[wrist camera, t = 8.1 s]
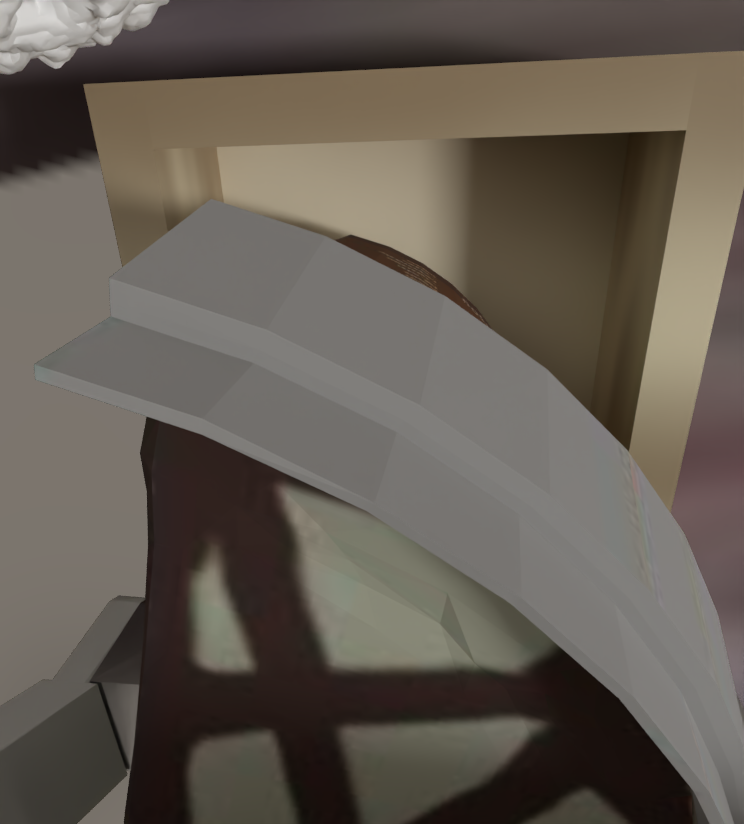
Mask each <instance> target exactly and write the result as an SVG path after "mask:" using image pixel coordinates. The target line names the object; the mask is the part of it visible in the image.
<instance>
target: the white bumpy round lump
mask: <svg viewBox="0 0 744 824" xmlns="http://www.w3.org/2000/svg"><path fill="white" fill-rule="evenodd" d="M168 2H169V0H0V73H1V74H8V75H9V74H14V73H16V72H19V71H22V70H23V69H24V68H25V66H26V65H27V64H28V62H29V61H30V59H35V58H39V59H40V60H41V61H42V62H44V63H45V64H47V65H48V66H50V67H52V68H55V69H57V68H61V67H62V65H63V64H64V63H65V62H67V61H69V60H70V58H71V57H73V56H74V55H73V54H74V53H75V52H76V50H77V49H78V48H83V47H93V46H95V45H96V43H97V44H100V45H103V46H105V45H110V44H111V43H112V41H113V39H114V38H115V37H116V36H117V35H119V34H120V31H121V29H122V28H123V30H124V29H125V30H129V31H137V30H139V29H141V28H145V27H146V26H147V25H149V24H150V23H151V21H152V18H153V17H154V15H155V14H156V12H157V10H158V7H159V6H162V5H166V4H168Z"/></svg>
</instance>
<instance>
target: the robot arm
mask: <svg viewBox="0 0 744 824" xmlns="http://www.w3.org/2000/svg"><path fill="white" fill-rule="evenodd" d="M144 613H145V598H141V597H129V596H117V597H116V598H114V599H112V600H111V601H110V602H109V603H108V604H107V605H106V607H105V608H104V610H103V611H102V612H101V614H100V615H99V616H98V618H97V619H96V620H95V622H94V623H93V625H92V626H91V627H90V629H89V630H88V631H87V633H86V634H85V636H84V637H83V638H82V640H81V641H80V642H79V644H78V645H77V647H76V648H75V649H74V651H73V652H72V653H71V655H70V656H69V658H68V659H67V660H66V662H65V663H64V665H63V666H62V667H61V669H60V670H59V671H58V673H57V674H56V676H55V677H54V678H53V680H41V681H40V682H38V683H36V684H35V685H33V686H32V687H30V688H29V689H27V690H25V691H24V692H22V693H21V694H19V695H17V696H16V697H14V698H12V699H11V700H9V701H8V702H6V703H4V704H3V705H1V706H0V824H77V823H78V822H79V821H80V820H81V819H82V818H83V817H84V816H85V815H86V814H87V813H88V812H90V810H91V809H92V808H94V807H95V806H96V805H97V804H98V803H99V802H100V801H101V800H102V799H103V798H104V797H105V796H106V795H107V794H108V793H109V792H110V791H111V790H112V789H113V788H114V787H115V786H116V785H117V784H118V783H119V782H120V781H121V780H122V779H124V777H126V776H127V771H131V763H132V756H133V748H134V739H135V728H136V717H137V706H138V694H139V683H140V672H141V661H142V650H143V631H144ZM736 695H737V694H736ZM737 700H738V704H739V708H740V713H741V717H742V721H743V726H744V707H743V706H742V704H741V702H740V700H739V698H738V696H737Z"/></svg>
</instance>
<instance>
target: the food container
mask: <svg viewBox="0 0 744 824" xmlns="http://www.w3.org/2000/svg"><path fill="white" fill-rule="evenodd" d="M109 291H110V312H111V317H109V318H108V319H106V320H104V321H103V322H101V323H99V324H98V325H96V326H95V327H93V328H91V329H90V330H88V331H87V332H85V333H83V334H82V335H80V336H79V337H77V338H75V339H74V340H72V341H71V342H69V343H67V344H66V345H64V346H63V347H61V348H59V349H58V350H56V351H55V352H53V353H51V354H50V355H48V356H46V357H45V358H43V359H42V360H40V361H38V362H37V363H35V364H34V371H35V380H38V381H41V382H44V383H47V384H50V385H53V386H56V387H59V388H62V389H65V390H68V391H71V392H74V393H77V394H80V395H83V396H86V397H89V398H92V399H95V400H98V401H101V402H104V403H107V404H110V405H114V406H116V407H120V408H123V409H126V410H129V411H132V412H135V413H138V414H141V415H144V416H147V418H146V424H145V429H144V435H143V441H142V446H141V451H140V455H141V461H142V467H143V472H144V478H145V484H146V488H147V515H148V557H147V577H146V595H145V613H144V631H143V650H142V661H141V672H140V683H139V694H138V706H137V717H136V728H135V739H134V748H133V756H132V763H131V771H130V778H129V786H128V793H127V801H126V809H125V817H124V824H744V726H743V721H742V717H741V713H740V708H739V704H738V700H737V695H736V691H735V687H734V682H733V678H732V674H731V669H730V665H729V661H728V656H727V652H726V648H725V643H724V639H723V635H722V630H721V626H720V622H719V617H718V613H717V611H716V609H715V606H714V604H713V601H712V599H711V597H710V594H709V592H708V589H707V587H706V585H705V582H704V580H703V577H702V575H701V572H700V570H699V568H698V565H697V563H696V560H695V558H694V556H693V553H692V551H691V548H690V546H689V544H688V541H687V539H686V536H685V534H684V532H683V531H682V529H681V528H680V527H679V525H678V524H677V522H676V521H675V519H674V518H673V516H672V515H671V513H670V512H669V510H668V509H667V507H666V506H665V505H664V503H663V502H662V500H661V499H660V497H659V496H658V494H657V493H656V491H655V490H654V488H653V487H652V485H651V484H650V482H649V481H648V480H647V478H646V477H645V475H644V474H643V472H642V471H641V469H640V468H639V466H638V465H637V463H636V462H635V460H634V459H633V458H632V456H631V455H630V453H629V452H628V450H627V449H626V448H625V447H624V446H623V445H622V444H621V443H620V442H619V441H618V440H617V439H616V438H615V437H614V436H613V435H612V434H611V433H610V432H609V431H608V430H607V429H606V428H605V427H604V426H603V425H602V424H601V423H600V422H599V421H598V420H597V419H596V418H595V417H594V416H593V415H592V414H591V413H590V412H589V411H588V410H587V409H586V408H585V407H584V406H583V405H582V404H581V403H580V402H579V401H578V400H577V399H576V398H575V397H574V396H573V395H572V394H571V393H570V392H569V391H568V390H567V389H566V388H565V387H564V386H563V385H562V384H561V383H560V382H559V381H558V380H557V379H556V378H555V377H554V376H553V375H552V374H551V373H550V372H549V371H548V370H547V369H546V368H545V367H543V366H542V365H540V364H539V363H538V362H536V361H535V360H533V359H532V358H531V357H529V356H528V355H527V354H525V353H524V352H522V351H521V350H520V349H518V348H517V347H515V346H514V345H513V344H511V343H510V342H508V341H507V340H506V339H504V338H503V337H501V336H500V335H499V334H497V333H496V332H495V331H493V329H492V328H491V327H490V325H489V324H488V323H487V321H486V320H485V318H484V317H483V316H482V314H481V313H480V312H479V310H478V309H477V308H476V307H475V306H474V305H473V304H472V303H471V302H470V301H469V300H468V299H467V298H466V297H465V296H464V295H463V294H462V293H461V292H460V291H459V290H458V289H457V288H456V287H455V286H454V285H453V284H451V283H450V282H449V281H447V280H446V279H444V278H443V277H442V276H440V275H439V274H437V273H436V272H434V271H433V270H432V269H430V268H429V267H427V266H426V265H425V264H423V263H421V262H419V261H417V260H415V259H413V258H411V257H409V256H407V255H405V254H403V253H401V252H399V251H397V250H395V249H393V248H391V247H389V246H386V245H383V244H380V243H377V242H373V241H370V240H367V239H364V238H361V237H358V236H354V235H351V234H350V235H348V236H345V237H342V238H339V239H336V240H333V239H331V238H329V237H327V236H324V235H321V234H318V233H315V232H312V231H309V230H306V229H302V228H299V227H296V226H293V225H290V224H287V223H284V222H281V221H278V220H275V219H272V218H269V217H266V216H263V215H259V214H256V213H253V212H250V211H247V210H244V209H241V208H238V207H235V206H232V205H229V204H226V203H223V202H220V201H216V200H213V199H210V200H209V201H208V202H206V203H205V204H204V205H202V206H201V207H200V208H199V209H197V210H196V211H195V212H193V213H192V214H191V215H190V216H188V217H187V218H186V219H184V220H183V221H182V222H180V223H179V224H178V225H177V226H175V227H174V228H173V229H171V230H170V231H169V232H168V233H166V234H165V235H164V236H162V237H161V238H160V239H158V240H157V241H156V242H155V243H153V244H152V245H151V246H149V247H148V248H147V249H145V250H144V251H143V252H142V253H140V254H139V255H138V256H136V257H135V258H134V259H133V260H131V261H130V262H129V263H127V264H126V265H125V266H123V267H122V268H121V269H120V270H118V271H117V272H116V273H115V274H113V275H112V276H111V277H109Z"/></svg>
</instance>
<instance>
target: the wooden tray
mask: <svg viewBox="0 0 744 824" xmlns="http://www.w3.org/2000/svg"><path fill="white" fill-rule="evenodd" d="M83 86H84V90H85V95H86V100H87V104H88V109H89V113H90V118H91V123H92V127H93V132H94V137H95V141H96V146H97V151H98V155H99V160H100V165H101V169H102V174H103V179H104V183H105V188H106V193H107V197H108V202H109V206H110V211H111V216H112V221H113V225H114V230H115V235H116V239H117V244H118V248H119V253H120V258H121V262H122V267H123V266H125V265H126V264H127V263H129V262H130V261H131V260H133V259H134V258H135V257H136V256H138V255H139V254H140V253H142V252H143V251H144V250H145V249H147V248H148V247H149V246H151V245H152V244H153V243H155V242H156V241H157V240H158V239H160V238H161V237H162V236H164V235H165V234H166V233H168V232H169V231H170V230H171V229H173V228H174V227H175V226H177V225H178V224H179V223H180V222H182V221H183V220H184V219H186V218H187V217H188V216H190V215H191V214H192V213H193V212H195V211H196V210H197V209H199V208H200V207H201V206H202V205H204V204H205V203H206V202H208V201H209V200H210V199H213V200H216V201H220V202H223V203H226V204H229V205H232V206H235V207H238V208H241V209H244V210H247V211H250V212H253V213H256V214H259V215H263V216H266V217H269V218H272V219H275V220H278V221H281V222H284V223H287V224H290V225H293V226H296V227H299V228H302V229H306V230H309V231H312V232H315V233H318V234H321V235H324V236H327V237H329V238H331V239H333V240H336V239H339V238H342V237H345V236H348V235H350V234H351V235H354V236H358V237H361V238H364V239H367V240H370V241H373V242H377V243H380V244H383V245H386V246H389V247H391V248H393V249H395V250H397V251H399V252H401V253H403V254H405V255H407V256H409V257H411V258H413V259H415V260H417V261H419V262H421V263H423V264H425V265H426V266H427V267H429V268H430V269H432V270H433V271H434V272H436V273H437V274H439V275H440V276H442V277H443V278H444V279H446V280H447V281H449V282H450V283H451V284H453V285H454V286H455V287H456V288H457V289H458V290H459V291H460V292H461V293H462V294H463V295H464V296H465V297H466V298H467V299H468V300H469V301H470V302H471V303H472V304H473V305H474V306H475V307H476V308H477V309H478V310H479V312H480V313H481V314H482V316H483V317H484V318H485V320H486V321H487V323H488V324H489V325H490V327H491V328H492V329H493V331H495V332H496V333H497V334H499V335H500V336H501V337H503V338H504V339H506V340H507V341H508V342H510V343H511V344H513V345H514V346H515V347H517V348H518V349H520V350H521V351H522V352H524V353H525V354H527V355H528V356H529V357H531V358H532V359H533V360H535V361H536V362H538V363H539V364H540V365H542V366H543V367H545V368H546V369H547V370H548V371H549V372H550V373H551V374H552V375H553V376H554V377H555V378H556V379H557V380H558V381H559V382H560V383H561V384H562V385H563V386H564V387H565V388H566V389H567V390H568V391H569V392H570V393H571V394H572V395H573V396H574V397H575V398H576V399H577V400H578V401H579V402H580V403H581V404H582V405H583V406H584V407H585V408H586V409H587V410H588V411H589V412H590V413H591V414H592V415H593V416H594V417H595V418H596V419H597V420H598V421H599V422H600V423H601V424H602V425H603V426H604V427H605V428H606V429H607V430H608V431H609V432H610V433H611V434H612V435H613V436H614V437H615V438H616V439H617V440H618V441H619V442H620V443H621V444H622V445H623V446H624V447H625V448H626V449H627V450H628V452H629V453H630V455H631V456H632V458H633V459H634V460H635V462H636V463H637V465H638V466H639V468H640V469H641V471H642V472H643V474H644V475H645V477H646V478H647V480H648V481H649V482H650V484H651V485H652V487H653V488H654V490H655V491H656V493H657V494H658V496H659V497H660V499H661V500H662V502H663V503H664V505H665V506H666V507H667V509H668V510H669V512H670V513H671V508H672V504H673V499H674V495H675V490H676V486H677V481H678V477H679V473H680V468H681V464H682V459H683V455H684V450H685V446H686V441H687V437H688V433H689V428H690V424H691V419H692V415H693V410H694V406H695V401H696V397H697V393H698V388H699V384H700V379H701V375H702V370H703V366H704V361H705V357H706V353H707V348H708V344H709V339H710V335H711V330H712V326H713V321H714V317H715V313H716V308H717V304H718V299H719V295H720V290H721V286H722V281H723V277H724V273H725V268H726V264H727V259H728V255H729V250H730V246H731V242H732V237H733V233H734V228H735V224H736V219H737V215H738V210H739V206H740V202H741V197H742V193H743V188H744V51H730V52H710V53H690V54H670V55H650V56H631V57H611V58H591V59H571V60H551V61H532V62H512V63H492V64H472V65H452V66H433V67H413V68H393V69H373V70H353V71H334V72H314V73H294V74H274V75H254V76H235V77H215V78H195V79H175V80H155V81H136V82H116V83H96V84H83Z"/></svg>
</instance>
